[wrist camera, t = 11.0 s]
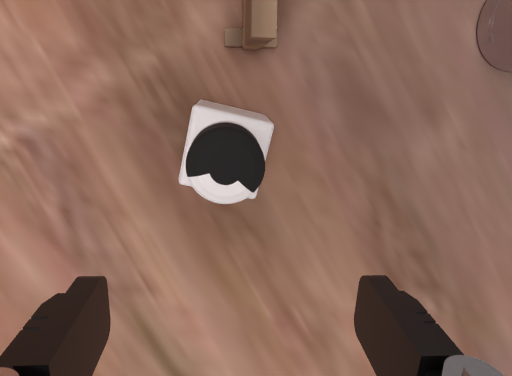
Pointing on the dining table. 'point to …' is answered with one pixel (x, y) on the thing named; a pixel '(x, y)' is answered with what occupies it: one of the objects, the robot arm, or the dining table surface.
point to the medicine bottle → (225, 152)
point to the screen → (255, 26)
